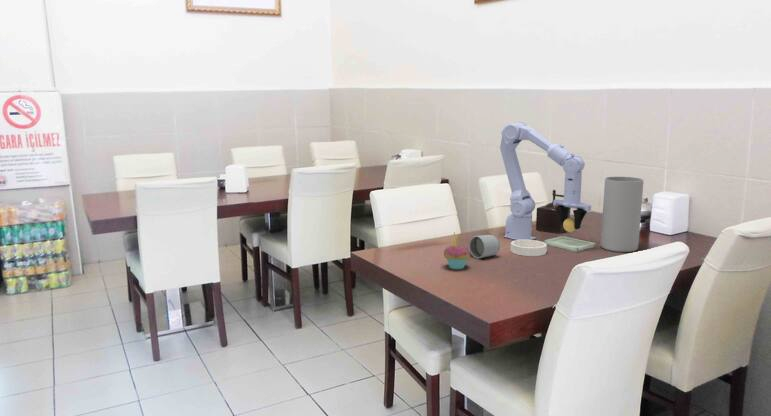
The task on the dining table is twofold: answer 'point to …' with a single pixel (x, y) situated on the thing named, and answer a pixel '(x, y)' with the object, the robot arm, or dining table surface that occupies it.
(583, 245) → the tray
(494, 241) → the ceramic mug
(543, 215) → the brown manual coffee grinder
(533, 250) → the bowl
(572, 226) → the ball
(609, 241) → the cylinder vase
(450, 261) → the cupcake
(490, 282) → the dining table surface
